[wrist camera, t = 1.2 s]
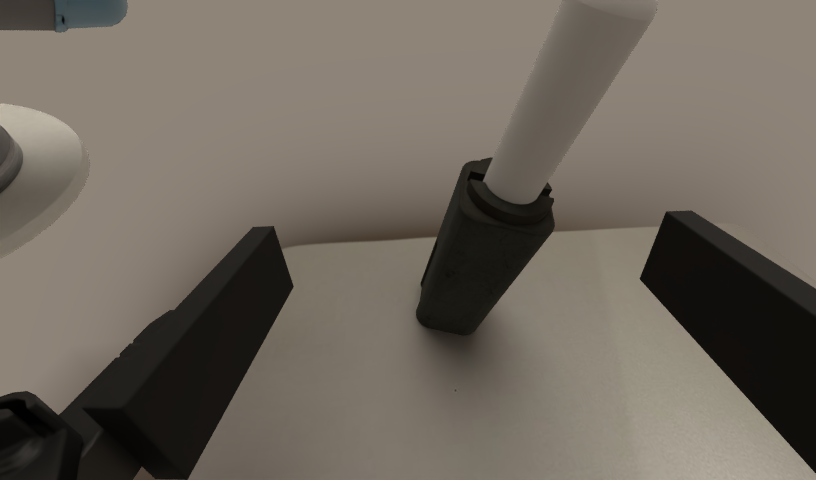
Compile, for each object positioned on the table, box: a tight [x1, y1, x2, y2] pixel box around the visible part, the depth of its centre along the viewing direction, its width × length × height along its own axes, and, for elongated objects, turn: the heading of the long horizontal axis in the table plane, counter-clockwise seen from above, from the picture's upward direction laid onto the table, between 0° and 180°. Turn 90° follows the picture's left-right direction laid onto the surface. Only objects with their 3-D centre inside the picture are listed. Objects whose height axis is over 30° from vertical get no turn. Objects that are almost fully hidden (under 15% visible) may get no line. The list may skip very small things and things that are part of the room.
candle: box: [416, 0, 658, 335], centre depth 18 cm, size 5×5×25 cm
